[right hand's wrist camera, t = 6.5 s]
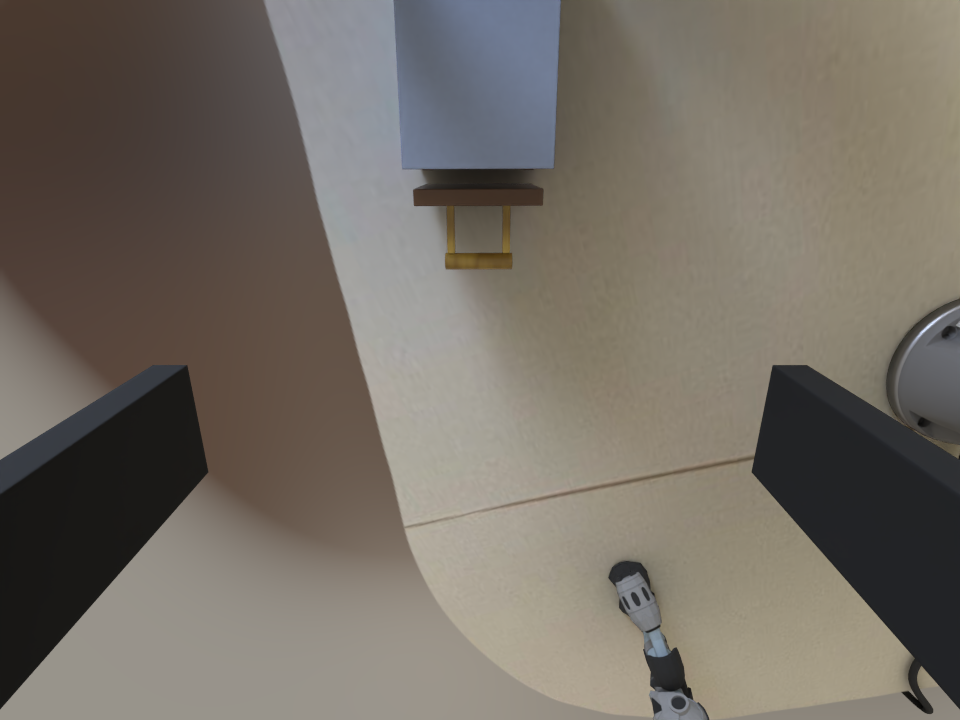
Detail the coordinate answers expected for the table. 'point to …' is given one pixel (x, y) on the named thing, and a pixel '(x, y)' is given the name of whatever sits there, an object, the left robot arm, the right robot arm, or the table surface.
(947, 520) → the right robot arm
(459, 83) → the cabinet
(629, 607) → the robot
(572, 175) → the table surface
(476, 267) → the drawer
